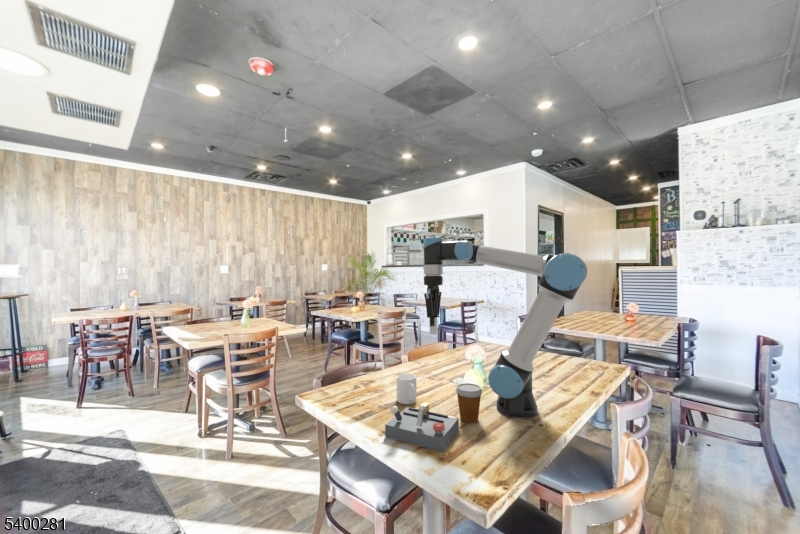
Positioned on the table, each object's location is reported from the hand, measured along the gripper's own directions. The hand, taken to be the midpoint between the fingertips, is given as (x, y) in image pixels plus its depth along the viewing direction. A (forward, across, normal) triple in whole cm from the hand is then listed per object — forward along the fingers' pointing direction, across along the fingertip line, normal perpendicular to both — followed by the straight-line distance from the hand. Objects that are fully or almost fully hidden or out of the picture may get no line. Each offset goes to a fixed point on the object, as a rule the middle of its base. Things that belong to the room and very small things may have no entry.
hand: (433, 333), depth 135 cm
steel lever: (+25, +28, +6) cm, 38 cm away
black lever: (+25, +25, -2) cm, 36 cm away
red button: (+25, +28, +13) cm, 40 cm away
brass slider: (+25, +18, +4) cm, 31 cm away
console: (+29, +22, +5) cm, 37 cm away
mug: (+30, +1, -11) cm, 32 cm away
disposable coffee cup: (+30, +5, +16) cm, 34 cm away
